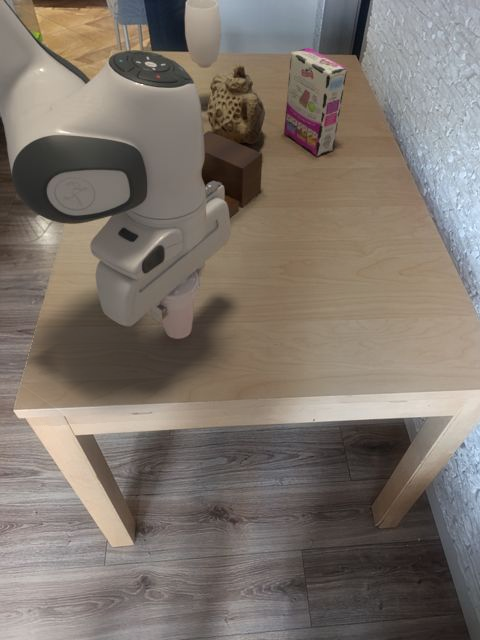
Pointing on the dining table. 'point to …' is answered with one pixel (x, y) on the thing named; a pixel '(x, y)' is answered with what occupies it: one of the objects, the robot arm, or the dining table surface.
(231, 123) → the teapot
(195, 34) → the white vase
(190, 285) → the smoothie
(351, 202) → the dining table surface
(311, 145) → the candy bar box
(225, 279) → the dining table surface
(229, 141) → the step shelf
